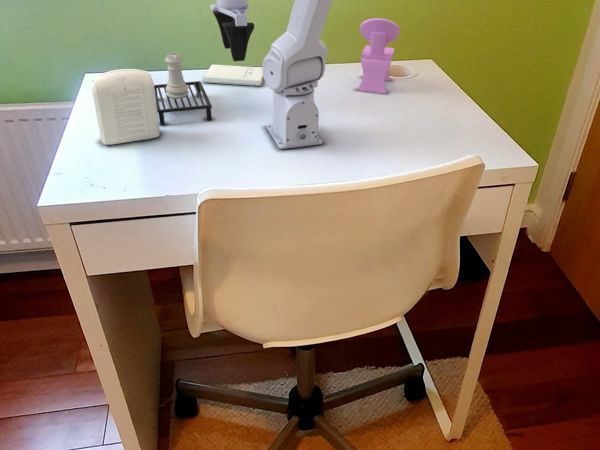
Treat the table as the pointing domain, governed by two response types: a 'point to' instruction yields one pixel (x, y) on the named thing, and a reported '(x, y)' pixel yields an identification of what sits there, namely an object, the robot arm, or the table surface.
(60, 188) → the table surface
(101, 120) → the photo printer
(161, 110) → the rack
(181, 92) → the rook chess piece
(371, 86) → the toy chair
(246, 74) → the hard drive
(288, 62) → the robot arm
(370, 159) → the table surface
